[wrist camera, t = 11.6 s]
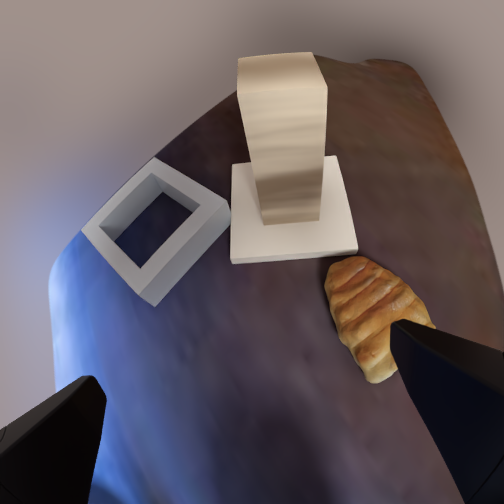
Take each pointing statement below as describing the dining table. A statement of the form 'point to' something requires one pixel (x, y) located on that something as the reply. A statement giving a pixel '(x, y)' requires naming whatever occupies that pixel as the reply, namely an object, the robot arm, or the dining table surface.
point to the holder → (176, 246)
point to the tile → (291, 234)
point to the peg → (285, 133)
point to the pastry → (370, 312)
